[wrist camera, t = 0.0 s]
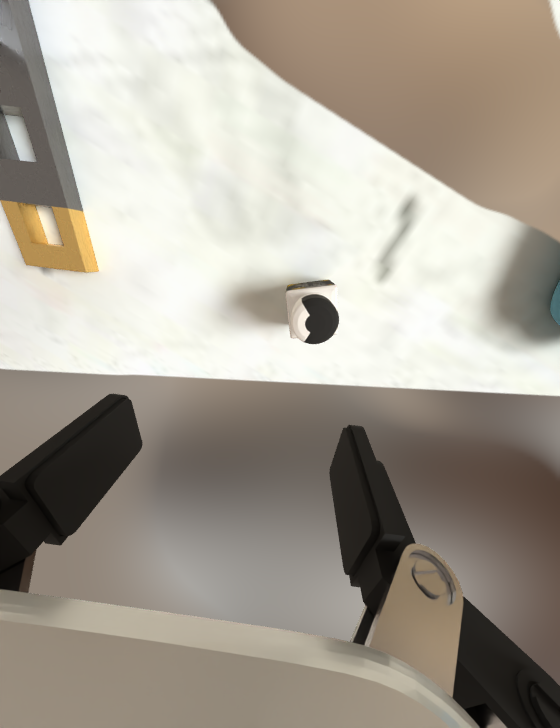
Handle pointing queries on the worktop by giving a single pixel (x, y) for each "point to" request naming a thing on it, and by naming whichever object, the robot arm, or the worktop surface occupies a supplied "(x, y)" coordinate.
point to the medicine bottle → (312, 311)
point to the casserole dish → (556, 304)
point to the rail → (36, 152)
